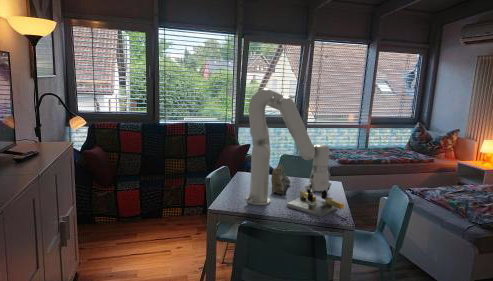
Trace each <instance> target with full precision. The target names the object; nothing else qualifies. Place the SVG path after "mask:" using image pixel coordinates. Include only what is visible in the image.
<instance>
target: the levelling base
mask: <svg viewBox="0 0 493 281" xmlns="http://www.w3.org/2000/svg"><path fill="white" fill-rule="evenodd" d="M286 208H290V209H293V210H297V211H300V212H303V213H305V214H311V215H313V216H316V217H319V218H324V217H325V216H327V215H328V214H331V213H332V212H334V211H336V210H338V208H336V207H334V206H326V205H325V200H320V199H317V198H316V202H310V201H308V199H300V197H298V198H295V199H294V200H291V201H288V202H287V203H286Z"/></svg>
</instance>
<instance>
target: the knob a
mask: <svg viewBox="0 0 493 281" xmlns="http://www.w3.org/2000/svg"><path fill="white" fill-rule="evenodd" d="M299 198H300V199H308V193H307V191H306V190H300V192H299ZM316 199H317V196H315V195H313V200H312V202H316Z"/></svg>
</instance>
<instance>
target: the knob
mask: <svg viewBox="0 0 493 281" xmlns="http://www.w3.org/2000/svg"><path fill="white" fill-rule="evenodd" d="M324 202H325V205H326V206H334V207H336V208H337V210H343V209H344V206H345V205H344V202H343V203H342V202H340V201H338V200H336V199H334V198H333V197H329V196H327V197H326V198H325V200H324Z"/></svg>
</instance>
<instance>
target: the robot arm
mask: <svg viewBox="0 0 493 281" xmlns="http://www.w3.org/2000/svg"><path fill="white" fill-rule="evenodd" d="M267 107H269V108H272V109H274V110H277V111H279V113H280V114H281V116H282V119H283V121H284V123H285V126H286V128H287V130H288V132H289V134H290V135H291V137H292V139H293V141H294V143H295V145H296V148H297V150H298V152H299V154H300V157H301V158H302V159H303V160H306V161H310V160H313V161H312V167H311V173H310V176H309V182H308V183H307V184H306V185H304V188H305V191H306V192H307V193H308V201H310V202H312V200H313V196H314V192H321V191H322V192H321V199H322V200H323V201H325V198H326V197H328V192H329V191H330V189H331V186H332V183H331V182H330V176H329V175H330V173H329V171H328V167H329V166H328V165H329V157H330V147H329V145H326V144H314V143H312V140H311V139H310V136H309V134H308V131H307V128H306V125H305V123H304V121H303V119H302V117H301V115H300V113H299V111H298V107H297V106H296V103H295V101H294V100H293V98H291V97H289V96H286V95H284V94H282V93H278V92H276V91H274V90H272V89H270V88H267V87H266V88H262V89H260V90H258V91H256V92H255V93H254V94H253V95H252V97H251V98H250V100H249V103H248V117H249V119H248V120H249V128H250V129H249V133H250V137H251V142H252V149H251V155H250V156H251V160H250V161H251V162H250V168H251V169H250V185H249V186H250V188H249V194H248V196H247V197H245V198H244V201H245V202H247V203H248V204H251V205H255V206H265V205H267V206H268V205H270V203H271V199H270V198H269V197H268V196H269V180H270V162H271V161H270V160H271V144H270V141H271V140H270V133H269V127H268V125H267V119H266V108H267Z"/></svg>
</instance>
